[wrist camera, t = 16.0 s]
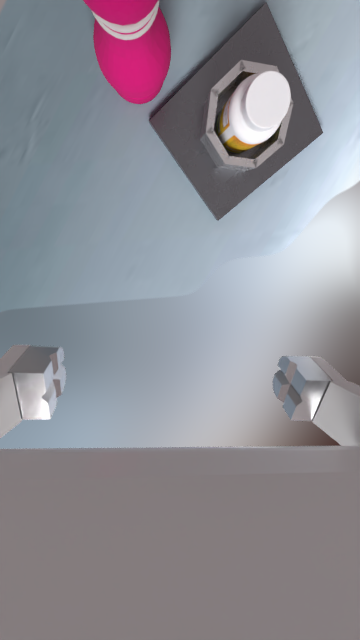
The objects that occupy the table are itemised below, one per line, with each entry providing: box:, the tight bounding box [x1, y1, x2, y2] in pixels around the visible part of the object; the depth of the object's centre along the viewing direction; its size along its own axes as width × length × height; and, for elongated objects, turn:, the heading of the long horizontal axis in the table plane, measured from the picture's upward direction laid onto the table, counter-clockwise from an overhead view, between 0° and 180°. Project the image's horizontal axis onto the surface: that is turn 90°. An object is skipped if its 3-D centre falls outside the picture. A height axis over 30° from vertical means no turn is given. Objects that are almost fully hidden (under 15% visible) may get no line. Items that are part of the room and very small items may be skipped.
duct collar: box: [149, 3, 323, 220], centre depth 30 cm, size 16×14×5 cm
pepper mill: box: [84, 0, 171, 104], centre depth 20 cm, size 7×7×20 cm
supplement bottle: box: [216, 70, 291, 153], centre depth 27 cm, size 5×5×10 cm
